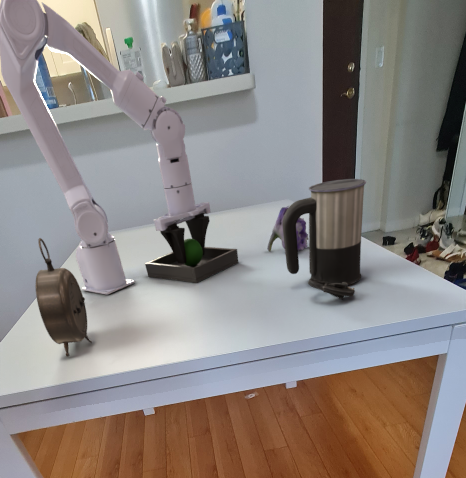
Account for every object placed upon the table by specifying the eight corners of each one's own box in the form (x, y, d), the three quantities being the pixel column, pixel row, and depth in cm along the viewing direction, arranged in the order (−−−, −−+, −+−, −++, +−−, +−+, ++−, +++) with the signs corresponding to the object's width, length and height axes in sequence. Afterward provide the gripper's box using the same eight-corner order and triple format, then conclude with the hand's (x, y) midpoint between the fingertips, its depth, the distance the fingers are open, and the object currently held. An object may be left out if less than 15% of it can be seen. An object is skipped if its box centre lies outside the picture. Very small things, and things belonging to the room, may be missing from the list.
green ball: (175, 268, 101) (170, 242, 98) (192, 261, 104) (187, 234, 100) (192, 270, 98) (187, 243, 95) (209, 263, 101) (205, 235, 97)
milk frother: (342, 268, 88) (344, 176, 78) (397, 287, 77) (407, 181, 67) (278, 288, 85) (271, 194, 75) (325, 310, 73) (325, 203, 63)
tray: (148, 276, 102) (144, 263, 101) (189, 258, 109) (187, 245, 107) (196, 283, 94) (194, 268, 92) (238, 262, 101) (237, 248, 99)
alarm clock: (70, 335, 81) (31, 233, 70) (99, 330, 81) (65, 227, 70) (57, 361, 73) (10, 250, 62) (89, 356, 73) (48, 244, 62)
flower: (253, 224, 97) (294, 193, 94) (259, 233, 105) (297, 205, 101) (274, 264, 99) (315, 235, 95) (279, 270, 106) (317, 243, 103)
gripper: (164, 193, 85) (180, 271, 94) (216, 176, 93) (226, 250, 102) (140, 194, 89) (158, 268, 98) (191, 178, 96) (203, 248, 105)
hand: (191, 259), depth 100 cm, fingers closed on green ball, 5 cm apart
